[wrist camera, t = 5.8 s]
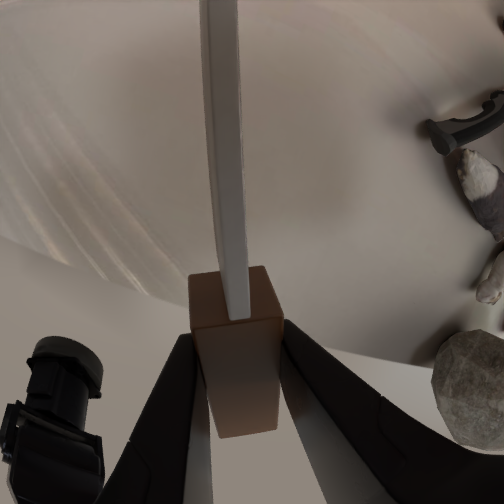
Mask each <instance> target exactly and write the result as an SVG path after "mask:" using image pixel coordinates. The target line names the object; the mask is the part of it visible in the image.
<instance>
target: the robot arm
mask: <svg viewBox="0 0 504 504" xmlns="http://www.w3.org/2000/svg"><path fill="white" fill-rule="evenodd" d="M26 363H27V365H28V366H29V368H30V369H31V370H32V375H31V378H30V381H29V384H28V387H27V393H28V394H27V398H26V402H25V405H24V404H22V402H21V401H19V400H16V404H7V407H6V411H5V415H4V418H3V422H2V426H1V429H0V447H1V449H2V451H1V453H2V454H3V458H2V461H3V462H5V463H7V464H9V468H8V474H7V486H8V488H9V491H10V493H11V495H12V498H13V500H14V502H15V504H213V491H212V472H211V449H210V422H209V421H210V420H209V406H208V399H207V393H206V388H205V384H204V380H203V376H202V372H201V368H200V364H199V360H198V356H197V353H196V351H195V347H194V342H193V338H192V334H191V333H187V334H181V335H180V336H179V337H178V339H177V341H176V343H175V345H174V347H173V349H172V351H171V353H170V355H169V357H168V360H167V361H166V363H165V365H164V367H163V369H162V371H161V374H160V376H159V378H158V380H157V382H156V384H155V386H154V388H153V390H152V392H151V394H150V396H149V398H148V400H147V402H146V404H145V406H144V408H143V411H142V413H141V415H140V417H139V419H138V421H137V423H136V425H135V427H134V429H133V432H132V434H131V436H130V438H129V440H130V442H127V444H126V446H125V448H124V451H123V453H122V455H121V457H120V459H119V461H118V463H117V465H116V467H115V469H114V471H113V473H112V474H111V476H110V478H109V479H108V481H107V483H106V484H105V486H104V480H105V467H104V458H103V448H102V437H100V436H97V435H92V434H89V433H87V432H84V428H85V420H86V412H87V406H88V400H89V399H100V398H101V396H102V393H101V392H100V390H99V389H98V387H97V386H96V384H95V383H94V381H93V380H92V378H91V377H90V375H89V374H88V372H87V371H86V369H85V368H84V366H83V364H82V363H81V361H80V360H79V358H77V357H42V358H28V359H27V361H26ZM279 379H280V383H281V387H282V390H283V394H284V398H285V401H286V404H287V406H288V409H289V411H290V414H291V416H292V419H293V421H294V424H295V426H296V429H297V431H298V434H299V436H300V439H301V441H302V444H303V446H304V449H305V451H306V454H307V456H308V459H309V461H310V463H311V466H312V468H313V470H314V473H315V476H316V478H317V480H318V483H319V485H320V487H321V490H322V492H323V495H324V497H325V499H326V502H327V504H504V455H490V454H482V453H477V452H474V451H471V450H468V449H466V448H464V447H462V446H460V445H458V444H456V443H454V442H453V441H451V440H449V439H447V438H446V437H444V436H442V435H440V434H439V433H437V432H435V431H434V430H432V429H430V428H428V427H427V426H425V425H423V424H422V423H420V422H419V421H417V420H415V419H414V418H412V417H411V416H409V415H408V414H406V413H405V412H404V411H402V410H401V409H400V408H398V407H397V406H395V405H394V404H393V403H391V402H390V401H389V400H388V399H386V398H385V397H384V396H381V394H380V393H379V392H377V391H376V390H375V389H373V388H372V387H371V386H370V385H368V384H367V383H366V382H365V381H363V380H362V379H361V378H360V377H358V376H357V375H356V374H355V373H353V372H352V371H351V370H350V369H348V368H347V367H346V366H345V365H343V364H342V363H341V362H340V361H338V360H337V359H336V358H335V357H333V356H332V355H331V354H330V353H328V352H327V351H326V350H325V349H324V348H323V347H321V346H320V345H319V344H318V343H316V342H315V341H314V340H313V339H312V338H310V337H309V336H308V335H307V334H305V333H304V332H303V331H302V330H301V329H299V328H298V327H297V326H296V325H295V324H293V323H292V322H291V321H290V320H288V319H284V328H283V340H282V342H281V358H280V377H279ZM16 425H18V426H19V428H18V427H16ZM103 486H104V488H103Z"/></svg>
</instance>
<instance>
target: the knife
mask: <svg viewBox="0 0 504 504" xmlns="http://www.w3.org/2000/svg"><path fill="white" fill-rule="evenodd" d="M490 99H491V100H488V101H485V102H484V103H483V104H482V108H483V112H481V113H480V114H478V115H476V116H474V117H472V118H468V119H455V118H452V119H449V120H445V121H441V122H434V121H433V120H431V119H429V120H427V121H426V123H427V127H428V130H429V134H430V138H431V141H432V145H433V147H434V148H435V150H436V151H437V152H438V153H440V154H442V155H443V156H445V157H446V156H447V155H448V154H450V153H451V152H452V151H453V150H454V149H455V148H457V147H459V146H462V145H464V144H467V143H469V142H471V141H474V140H476V139H478V138H480V137H482V136H484V135H486V134H488V133H489V132H491V131H492V130H494V129H495V128H497V127H498V126H500V125H502V124H503V123H504V91H502V90H497V91H494V92H492V93H491V94H490Z"/></svg>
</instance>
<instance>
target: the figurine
mask: <svg viewBox="0 0 504 504" xmlns="http://www.w3.org/2000/svg"><path fill="white" fill-rule="evenodd" d="M502 291H504V251H502V252H501V253H500V254H499V255H498V256H497V258H496V260H495V262H494V264H493V267H492V269H491V271H490V274H489V276H488V279H486V280H484V281H483V282H482V283H481V284H480V286H479V287H478V289H477V291H476V300H478V301H480V302H483V303H486V304H489V303H492V305H494V304H495V303H496V302H497V301H498V300H499V299H500V297H501V294H502Z"/></svg>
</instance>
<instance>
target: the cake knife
mask: <svg viewBox="0 0 504 504" xmlns="http://www.w3.org/2000/svg"><path fill="white" fill-rule="evenodd" d="M199 5H200V35H201V58H202V77H203V95H204V111H205V126H206V140H207V153H208V165H209V177H210V189H211V200H212V211H213V222H214V232H215V242H216V251H217V257H218V263H219V268H220V271H215V272H207V273H199V274H191V275H189V276H188V293H189V314H190V329H191V334H192V338H193V342H194V347H195V351H196V353H197V356H198V360H199V364H200V368H201V372H202V376H203V380H204V384H205V388H206V393H207V397H208V401H209V405H210V408H211V412H212V415H213V419H214V422H215V425H216V429H217V432H218V436H219V438H221V439H222V438H229V437H236V436H242V435H249V434H255V433H261V432H266V431H271V430H276V429H277V426H278V413H279V412H278V411H279V398H280V379H279V377H280V358H281V342H282V340H283V328H284V313H283V311H282V308H281V306H280V303H279V301H278V298H277V296H276V293H275V291H274V289H273V286H272V284H271V281H270V279H269V276H268V274H267V271H266V269H265V267H264V266H262V265H261V266H253V267H248V248H247V226H246V204H245V181H244V158H243V135H242V111H241V87H240V62H239V36H238V10H237V0H199Z"/></svg>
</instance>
